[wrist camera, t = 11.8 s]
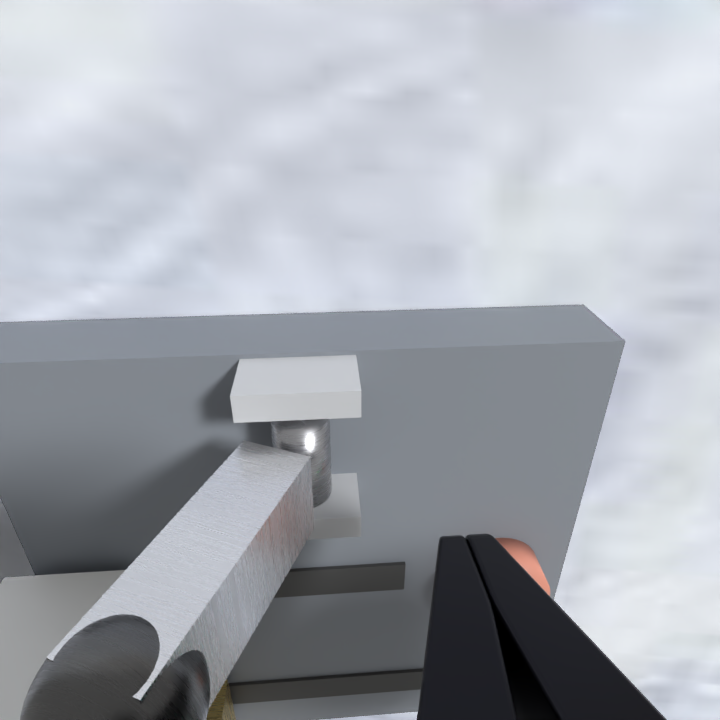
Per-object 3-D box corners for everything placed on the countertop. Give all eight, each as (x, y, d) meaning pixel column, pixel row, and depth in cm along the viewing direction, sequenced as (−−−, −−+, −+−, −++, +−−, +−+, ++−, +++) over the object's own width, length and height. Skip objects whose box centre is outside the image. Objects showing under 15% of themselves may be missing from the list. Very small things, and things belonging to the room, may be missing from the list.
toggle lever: (274, 464, 12) (8, 806, 7) (265, 386, 11) (-59, 712, 6) (360, 487, 12) (150, 887, 6) (360, 405, 11) (104, 798, 5)
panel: (127, 674, 19) (91, 787, 16) (-5, 322, 12) (-110, 404, 9) (506, 646, 20) (540, 748, 17) (583, 304, 13) (663, 374, 10)
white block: (33, 637, 14) (-45, 795, 11) (4, 577, 13) (-93, 735, 10) (148, 629, 14) (103, 782, 11) (129, 569, 13) (72, 723, 10)
